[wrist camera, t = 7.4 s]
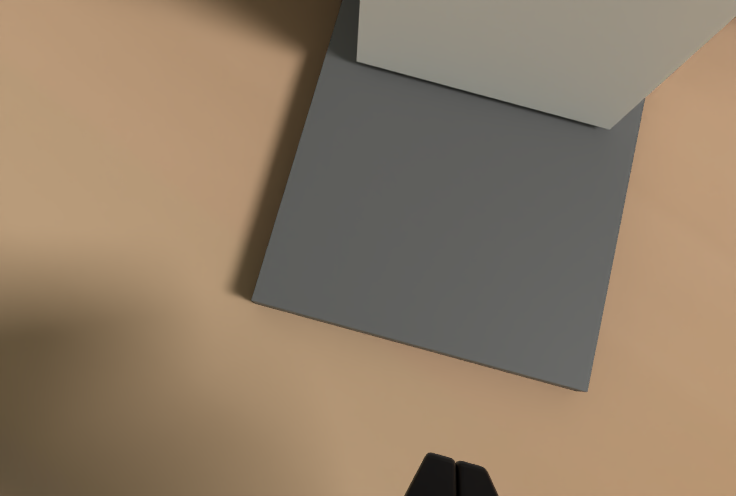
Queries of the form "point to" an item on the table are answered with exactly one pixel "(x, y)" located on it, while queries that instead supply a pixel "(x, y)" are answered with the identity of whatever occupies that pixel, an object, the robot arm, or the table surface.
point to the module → (542, 48)
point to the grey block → (449, 219)
